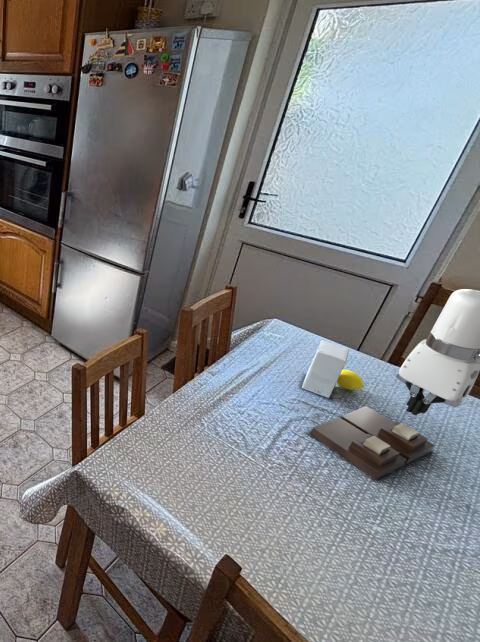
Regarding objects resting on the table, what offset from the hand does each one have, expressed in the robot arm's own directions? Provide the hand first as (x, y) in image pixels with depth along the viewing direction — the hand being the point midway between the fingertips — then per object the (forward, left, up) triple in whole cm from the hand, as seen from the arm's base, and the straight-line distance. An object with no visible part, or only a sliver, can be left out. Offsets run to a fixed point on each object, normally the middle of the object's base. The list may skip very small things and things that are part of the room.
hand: (414, 411), depth 95 cm
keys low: (+3, -2, -12) cm, 12 cm away
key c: (0, -2, -8) cm, 8 cm away
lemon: (+18, -13, -12) cm, 26 cm away
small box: (+21, -6, -12) cm, 25 cm away
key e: (0, +9, -8) cm, 12 cm away
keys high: (+3, +9, -12) cm, 15 cm away
